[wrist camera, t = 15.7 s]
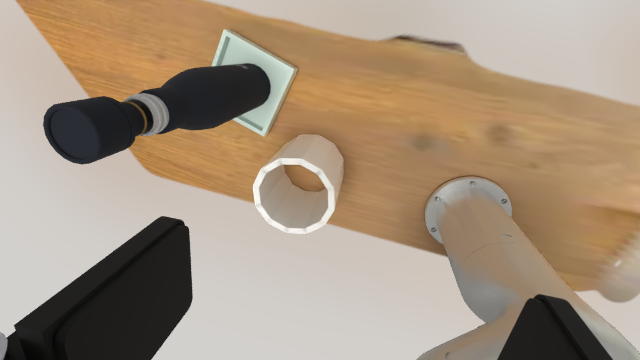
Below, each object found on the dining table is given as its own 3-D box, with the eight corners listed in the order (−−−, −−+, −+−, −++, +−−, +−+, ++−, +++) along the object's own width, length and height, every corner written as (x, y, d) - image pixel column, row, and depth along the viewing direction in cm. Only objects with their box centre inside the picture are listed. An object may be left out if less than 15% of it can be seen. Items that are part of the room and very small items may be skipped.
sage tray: (298, 68, 45) (294, 69, 43) (268, 132, 50) (263, 136, 48) (231, 30, 45) (223, 29, 43) (207, 98, 49) (199, 100, 47)
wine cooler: (355, 155, 49) (350, 185, 38) (324, 206, 53) (311, 246, 42) (296, 122, 48) (273, 142, 37) (269, 176, 53) (241, 208, 42)
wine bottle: (240, 113, 48) (63, 193, 21) (223, 71, 46) (2, 100, 19) (277, 100, 47) (137, 169, 19) (261, 56, 45) (79, 65, 17)
